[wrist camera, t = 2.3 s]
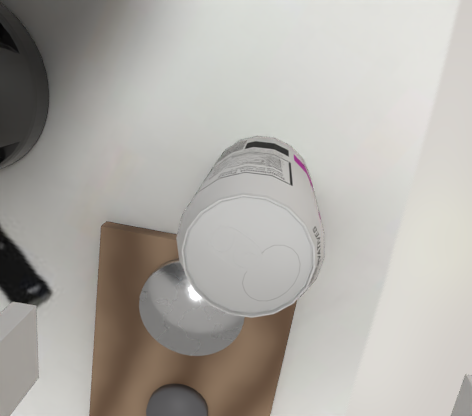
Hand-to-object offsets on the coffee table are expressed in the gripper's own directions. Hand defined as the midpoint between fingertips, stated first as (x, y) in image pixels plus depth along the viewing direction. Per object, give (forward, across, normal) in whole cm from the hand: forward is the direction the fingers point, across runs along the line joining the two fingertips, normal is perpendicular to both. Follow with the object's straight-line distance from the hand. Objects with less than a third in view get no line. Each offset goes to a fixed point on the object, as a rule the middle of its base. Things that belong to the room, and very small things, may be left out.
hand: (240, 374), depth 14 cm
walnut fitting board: (+25, -5, -18) cm, 31 cm away
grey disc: (+23, -5, -25) cm, 34 cm away
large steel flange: (+23, -5, -12) cm, 27 cm away
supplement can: (+25, 0, -1) cm, 25 cm away
